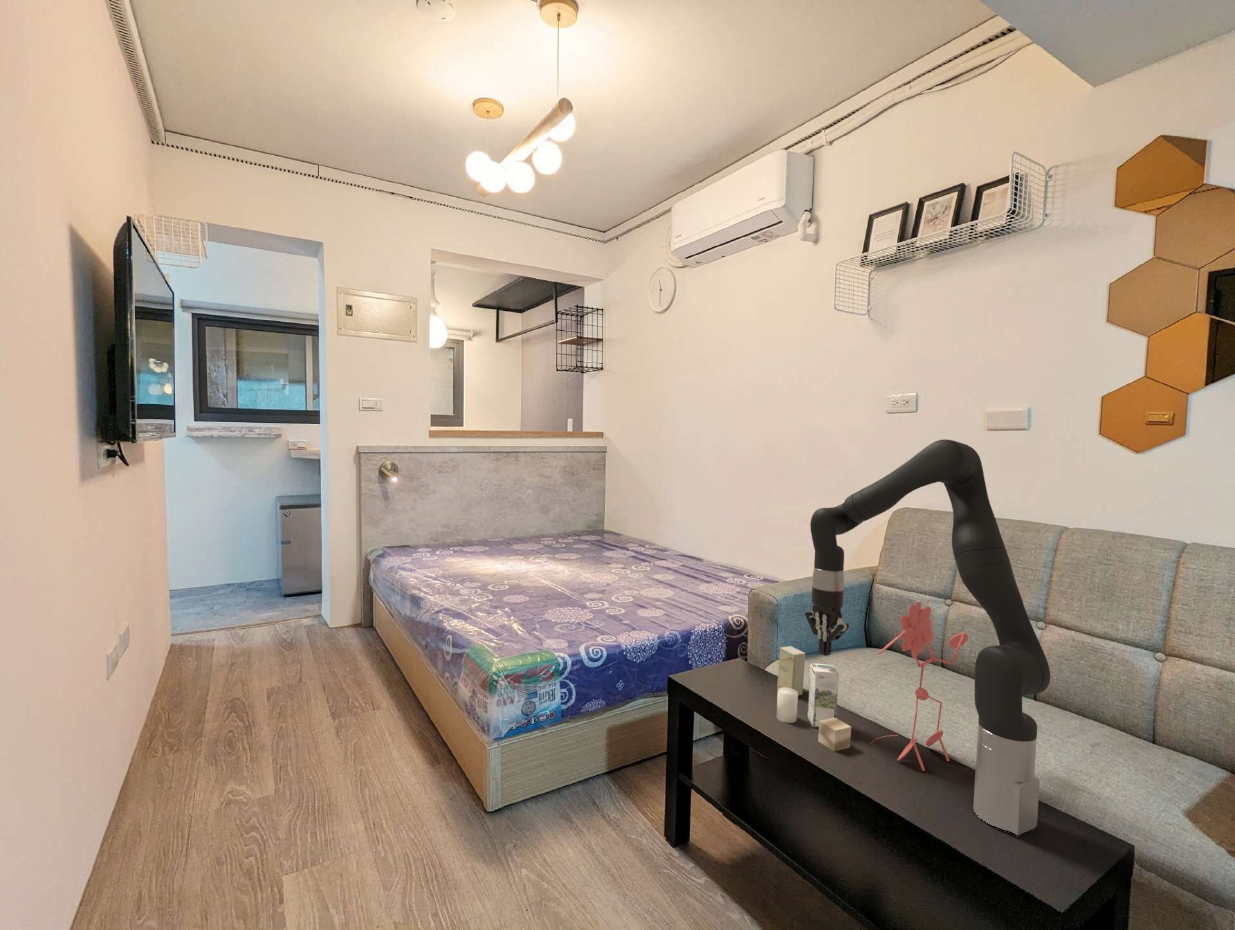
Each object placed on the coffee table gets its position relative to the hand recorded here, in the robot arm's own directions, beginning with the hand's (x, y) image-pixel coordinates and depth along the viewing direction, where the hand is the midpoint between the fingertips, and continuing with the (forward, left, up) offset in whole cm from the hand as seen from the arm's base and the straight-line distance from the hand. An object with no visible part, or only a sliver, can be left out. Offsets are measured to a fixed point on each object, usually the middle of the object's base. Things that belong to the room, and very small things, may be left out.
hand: (824, 654), depth 145 cm
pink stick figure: (-18, -9, -18) cm, 27 cm away
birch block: (-9, +5, -18) cm, 21 cm away
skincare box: (+18, -6, -18) cm, 26 cm away
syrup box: (0, 0, -18) cm, 18 cm away
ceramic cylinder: (+6, +6, -18) cm, 20 cm away
